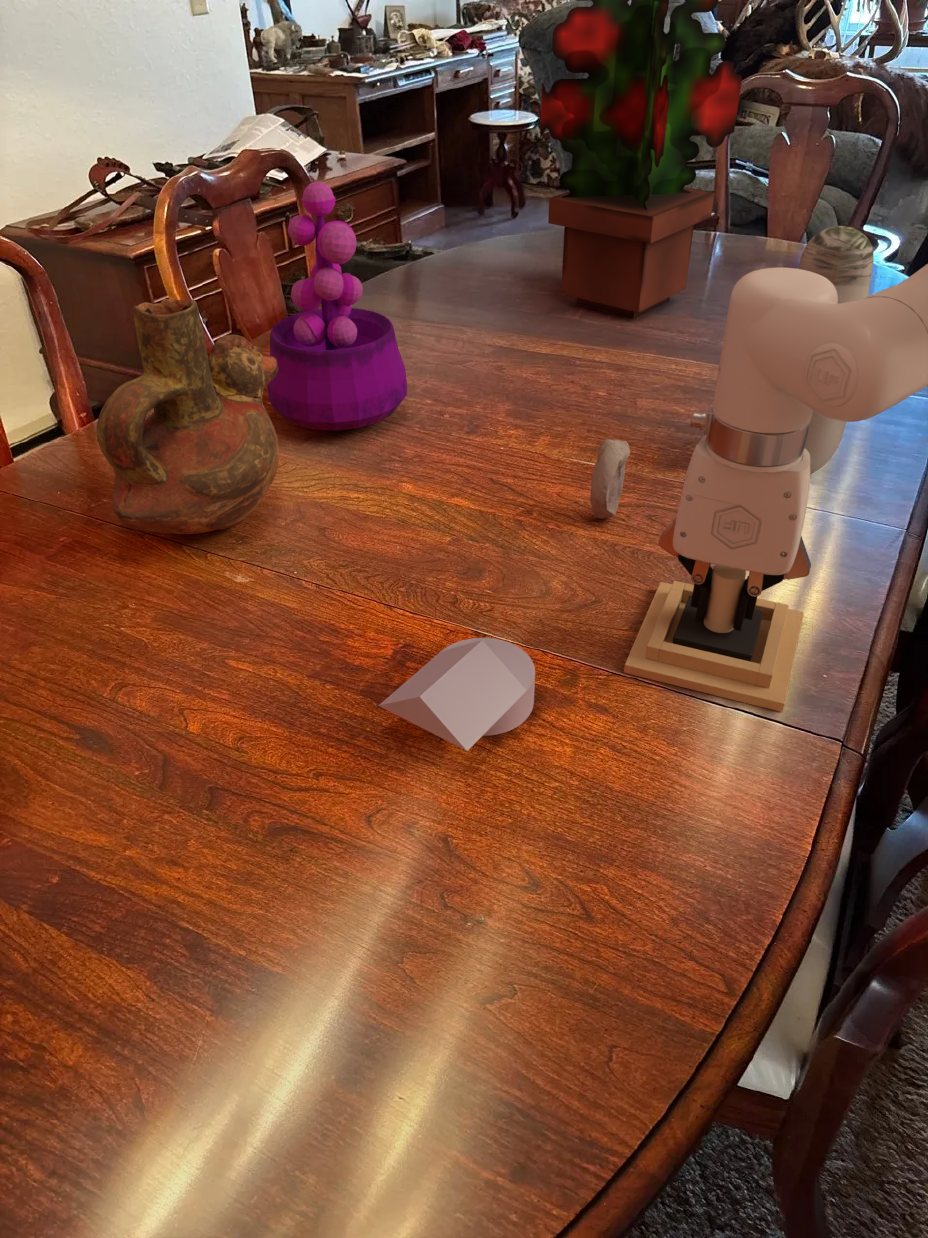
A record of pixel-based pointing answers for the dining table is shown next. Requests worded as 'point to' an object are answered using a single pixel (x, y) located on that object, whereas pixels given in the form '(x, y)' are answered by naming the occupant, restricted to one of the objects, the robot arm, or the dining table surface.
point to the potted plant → (634, 146)
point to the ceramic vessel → (189, 427)
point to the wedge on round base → (468, 691)
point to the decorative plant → (333, 336)
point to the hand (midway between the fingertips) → (720, 616)
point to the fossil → (608, 477)
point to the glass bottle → (849, 270)
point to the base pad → (711, 671)
